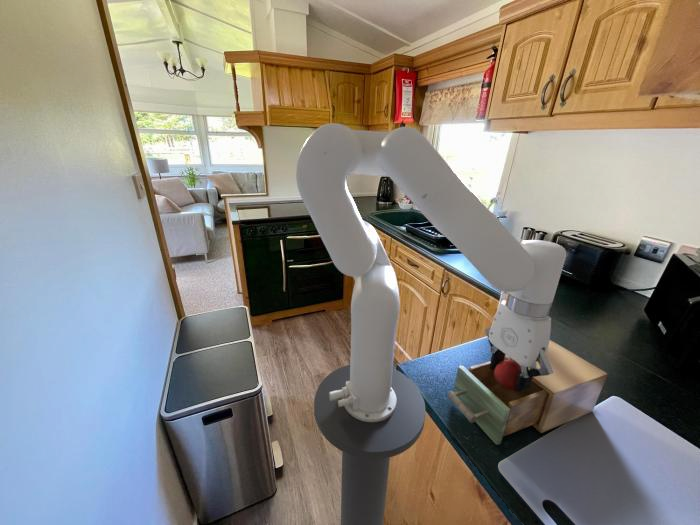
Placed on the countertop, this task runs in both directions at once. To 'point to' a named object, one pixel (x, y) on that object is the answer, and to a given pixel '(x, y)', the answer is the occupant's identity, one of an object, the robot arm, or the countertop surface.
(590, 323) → the countertop surface
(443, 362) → the countertop surface
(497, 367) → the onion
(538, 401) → the drawer
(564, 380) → the cabinet
